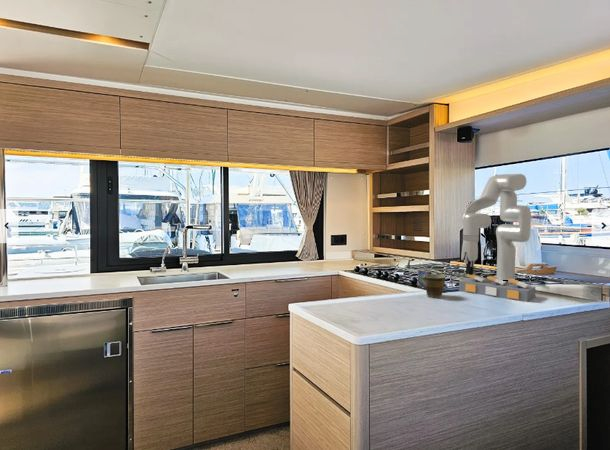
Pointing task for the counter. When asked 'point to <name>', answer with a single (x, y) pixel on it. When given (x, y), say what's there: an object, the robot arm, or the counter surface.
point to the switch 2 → (496, 280)
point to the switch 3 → (518, 283)
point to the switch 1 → (476, 277)
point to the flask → (421, 274)
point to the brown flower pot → (433, 285)
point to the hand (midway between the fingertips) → (469, 274)
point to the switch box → (497, 289)
